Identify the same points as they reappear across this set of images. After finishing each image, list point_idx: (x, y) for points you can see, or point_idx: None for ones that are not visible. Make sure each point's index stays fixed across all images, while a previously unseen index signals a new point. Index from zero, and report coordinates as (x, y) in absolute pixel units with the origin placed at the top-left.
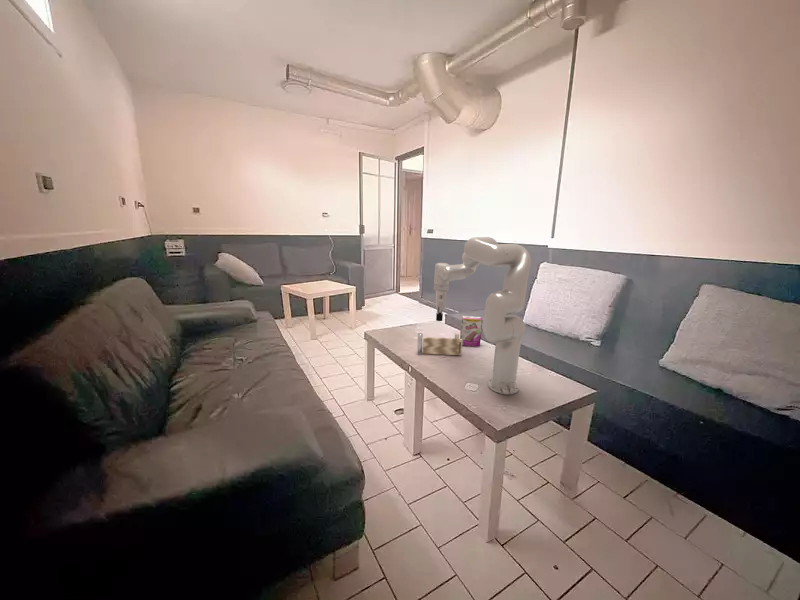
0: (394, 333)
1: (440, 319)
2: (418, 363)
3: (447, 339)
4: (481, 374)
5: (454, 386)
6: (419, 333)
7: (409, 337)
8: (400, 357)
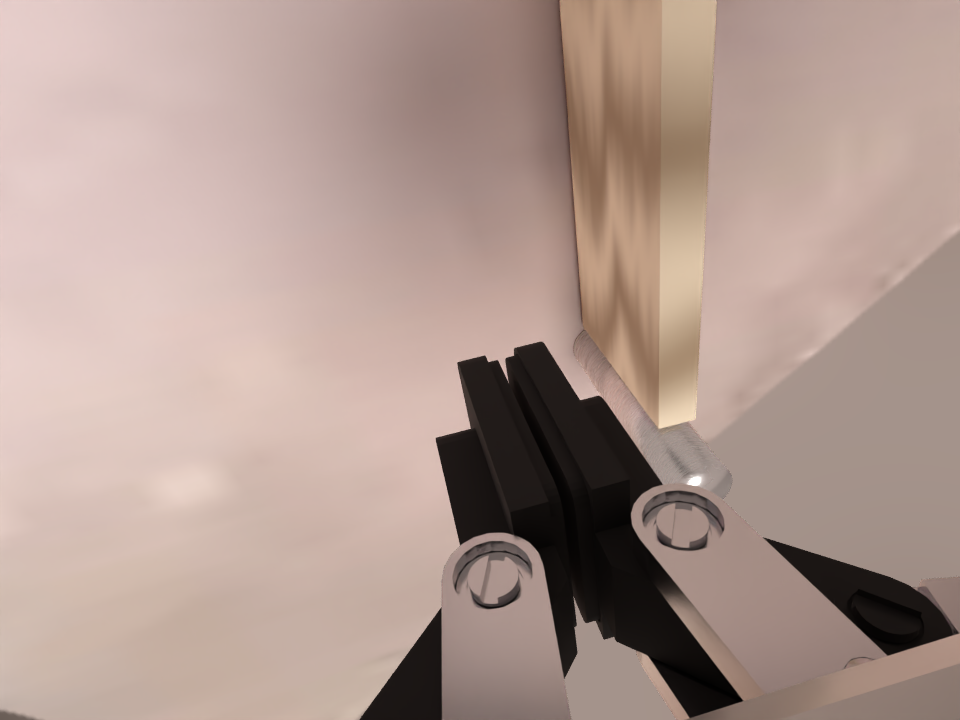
0: (184, 660)
1: (603, 404)
2: (797, 300)
3: (710, 63)
4: None
5: None
6: None
7: (213, 537)
8: None
